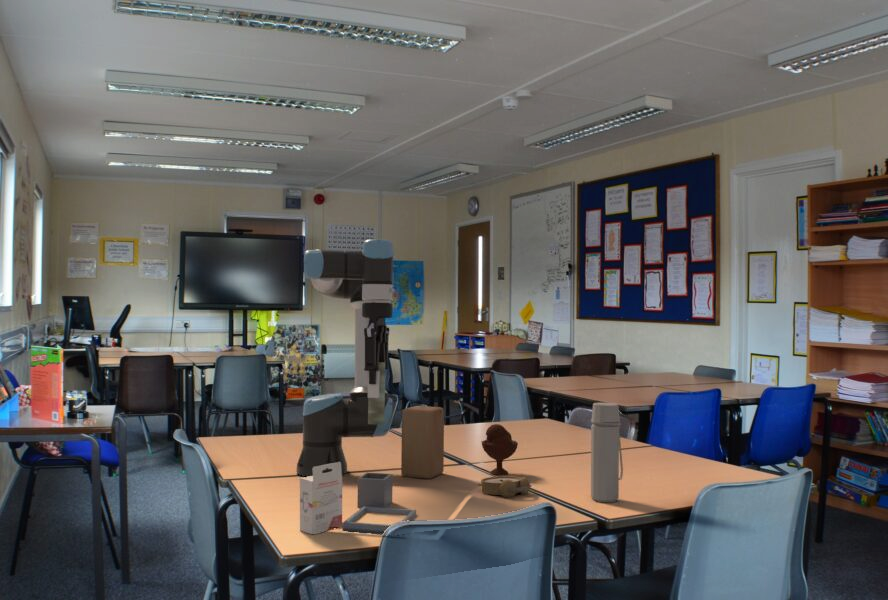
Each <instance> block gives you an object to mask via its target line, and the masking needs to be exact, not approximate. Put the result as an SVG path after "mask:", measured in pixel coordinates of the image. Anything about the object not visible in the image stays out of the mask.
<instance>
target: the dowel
mask: <svg viewBox="0 0 888 600" xmlns="http://www.w3.org/2000/svg"><path fill="white" fill-rule="evenodd" d="M378 371H380V374H379V398H368V424H374V425H378V424H384V413H385V390H386V369H385V362H379V363H378Z"/></svg>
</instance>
